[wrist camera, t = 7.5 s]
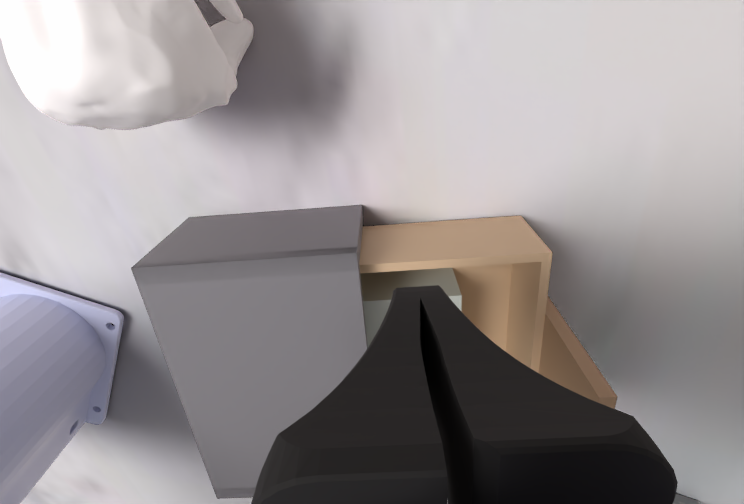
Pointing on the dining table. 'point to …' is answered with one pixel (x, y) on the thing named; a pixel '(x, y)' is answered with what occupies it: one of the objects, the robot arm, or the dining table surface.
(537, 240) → the mailer tray
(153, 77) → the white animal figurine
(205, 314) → the mailer sleeve
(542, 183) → the dining table surface
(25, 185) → the dining table surface
